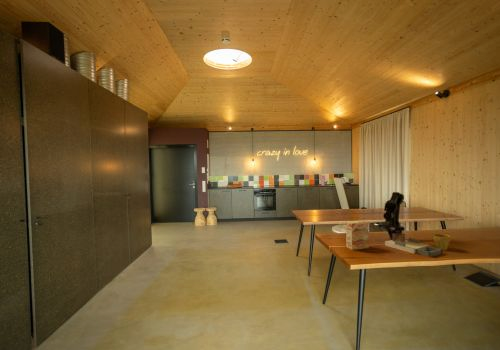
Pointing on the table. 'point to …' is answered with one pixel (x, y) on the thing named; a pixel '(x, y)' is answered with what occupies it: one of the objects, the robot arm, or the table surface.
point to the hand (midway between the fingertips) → (390, 237)
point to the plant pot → (441, 241)
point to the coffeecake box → (357, 235)
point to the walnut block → (398, 237)
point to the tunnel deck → (414, 247)
